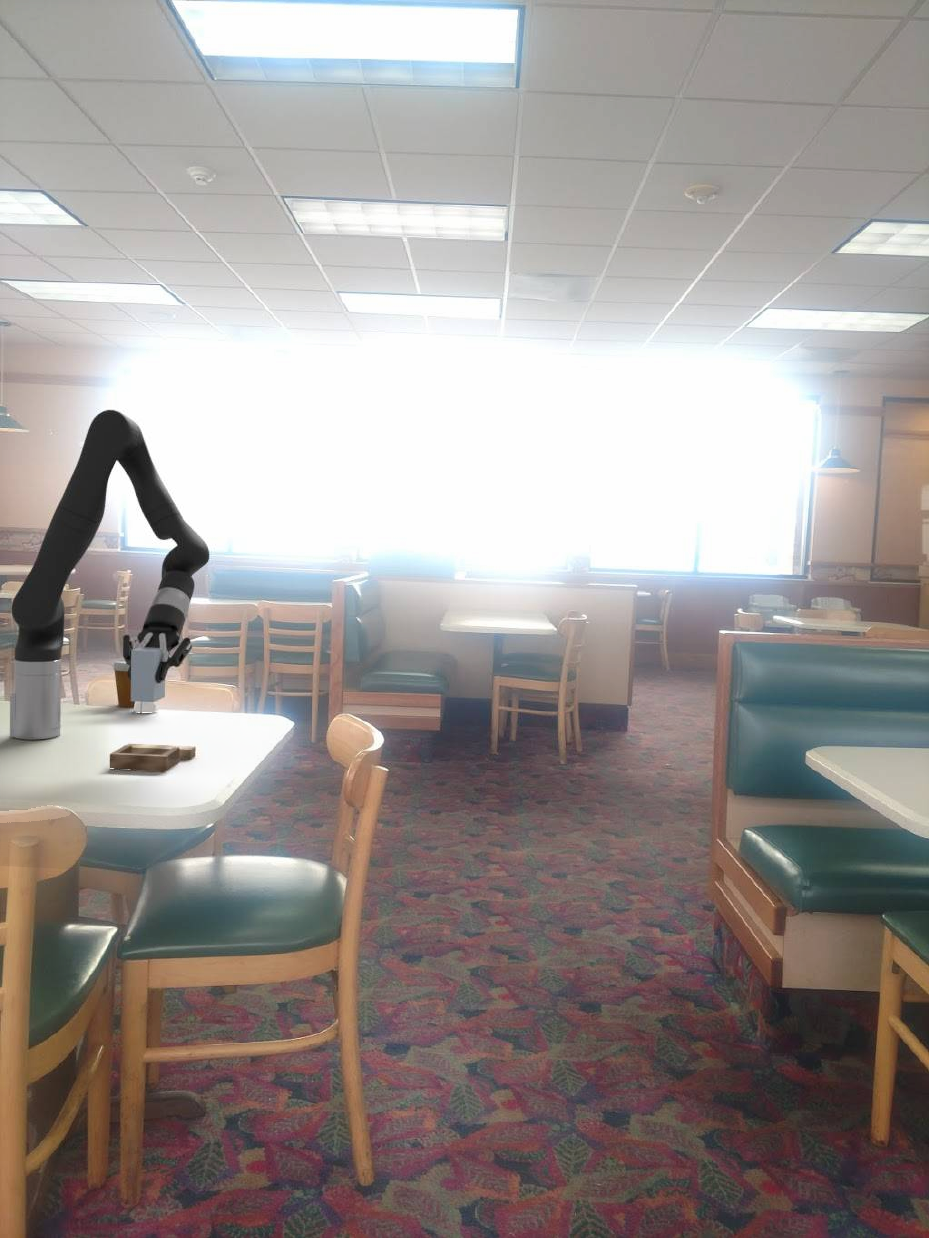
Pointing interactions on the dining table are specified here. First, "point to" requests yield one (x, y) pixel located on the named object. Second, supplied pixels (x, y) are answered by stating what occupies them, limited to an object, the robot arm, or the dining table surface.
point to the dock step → (163, 750)
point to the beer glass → (145, 707)
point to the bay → (143, 760)
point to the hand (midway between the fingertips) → (144, 679)
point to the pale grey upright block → (146, 675)
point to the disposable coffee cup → (123, 684)
